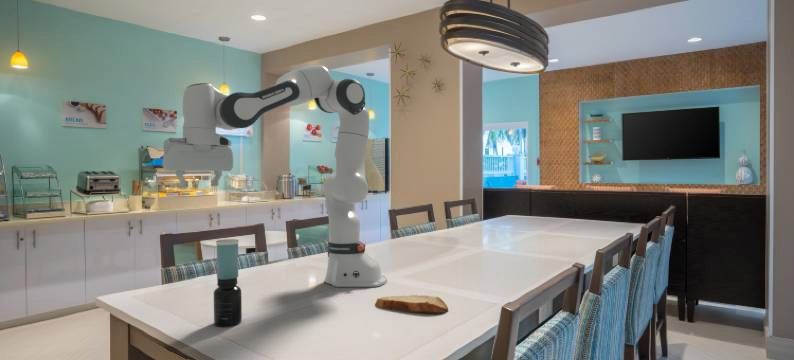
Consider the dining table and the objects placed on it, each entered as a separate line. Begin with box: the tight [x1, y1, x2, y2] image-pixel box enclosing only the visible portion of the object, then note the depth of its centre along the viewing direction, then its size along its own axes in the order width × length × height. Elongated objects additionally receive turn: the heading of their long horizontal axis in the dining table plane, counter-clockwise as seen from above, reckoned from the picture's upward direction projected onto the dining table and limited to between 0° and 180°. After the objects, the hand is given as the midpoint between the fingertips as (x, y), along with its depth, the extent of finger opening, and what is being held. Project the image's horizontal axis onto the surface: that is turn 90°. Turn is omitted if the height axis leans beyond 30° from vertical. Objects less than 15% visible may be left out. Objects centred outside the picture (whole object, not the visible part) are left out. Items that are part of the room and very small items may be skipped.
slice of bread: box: [374, 294, 449, 315], centre depth 132 cm, size 18×18×4 cm
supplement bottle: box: [213, 277, 243, 328], centre depth 118 cm, size 7×7×12 cm
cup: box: [215, 238, 240, 279], centre depth 118 cm, size 5×5×10 cm
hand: (199, 186), depth 132 cm, fingers open, 8 cm apart
